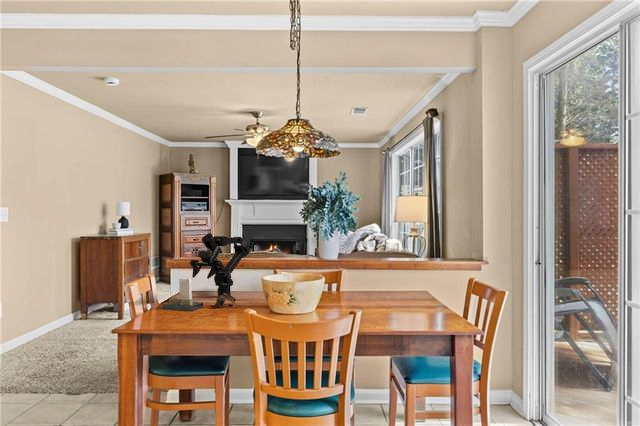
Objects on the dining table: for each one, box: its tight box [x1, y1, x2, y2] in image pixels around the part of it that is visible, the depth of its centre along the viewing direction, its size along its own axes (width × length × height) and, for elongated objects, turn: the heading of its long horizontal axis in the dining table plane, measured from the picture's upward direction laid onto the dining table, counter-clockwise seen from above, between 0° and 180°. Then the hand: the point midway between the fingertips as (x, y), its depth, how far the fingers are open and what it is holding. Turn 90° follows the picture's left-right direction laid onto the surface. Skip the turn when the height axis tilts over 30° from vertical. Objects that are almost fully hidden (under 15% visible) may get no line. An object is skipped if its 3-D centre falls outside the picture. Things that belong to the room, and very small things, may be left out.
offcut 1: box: [168, 297, 181, 304], centre depth 229 cm, size 2×6×5 cm, turn 68°
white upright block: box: [178, 278, 193, 300], centre depth 232 cm, size 2×6×14 cm, turn 68°
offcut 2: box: [180, 298, 193, 305], centre depth 227 cm, size 2×6×5 cm, turn 68°
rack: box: [162, 301, 205, 312], centre depth 230 cm, size 10×18×3 cm, turn 68°
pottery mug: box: [214, 293, 237, 309], centre depth 232 cm, size 12×10×8 cm
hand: (200, 277), depth 243 cm, fingers open, 9 cm apart
